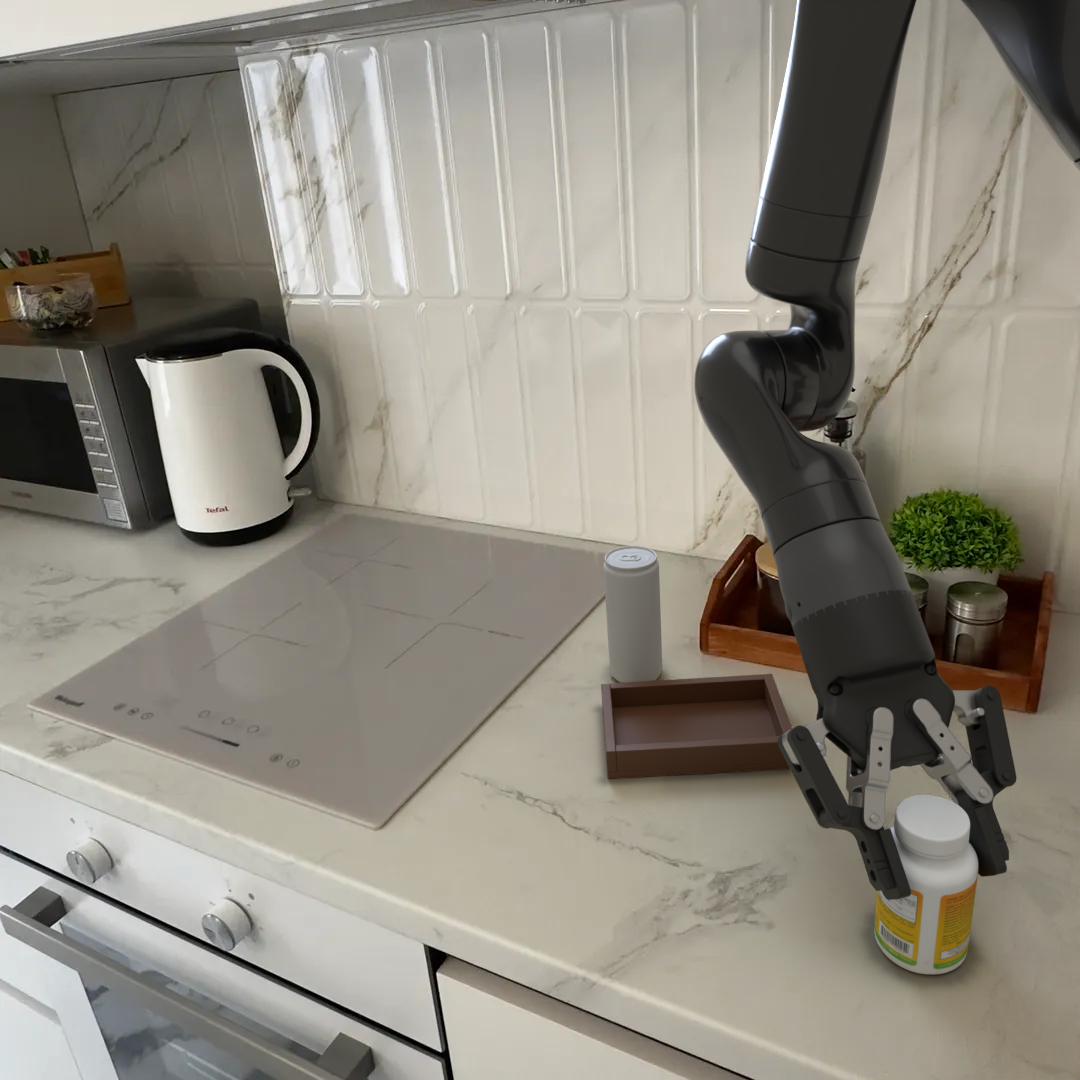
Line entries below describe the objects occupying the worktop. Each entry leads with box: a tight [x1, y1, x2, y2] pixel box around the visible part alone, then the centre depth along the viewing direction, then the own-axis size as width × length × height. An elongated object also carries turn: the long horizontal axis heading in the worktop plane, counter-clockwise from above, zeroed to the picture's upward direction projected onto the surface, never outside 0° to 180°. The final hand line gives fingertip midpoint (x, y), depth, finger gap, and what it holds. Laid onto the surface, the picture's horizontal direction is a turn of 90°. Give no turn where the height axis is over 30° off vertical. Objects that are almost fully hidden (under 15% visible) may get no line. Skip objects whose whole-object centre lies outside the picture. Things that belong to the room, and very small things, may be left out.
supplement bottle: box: [873, 794, 979, 975], centre depth 58 cm, size 5×5×10 cm
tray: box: [600, 673, 793, 780], centre depth 80 cm, size 15×10×3 cm, turn 89°
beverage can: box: [603, 545, 663, 683], centre depth 87 cm, size 5×5×12 cm
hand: (946, 884), depth 55 cm, fingers closed on supplement bottle, 5 cm apart
